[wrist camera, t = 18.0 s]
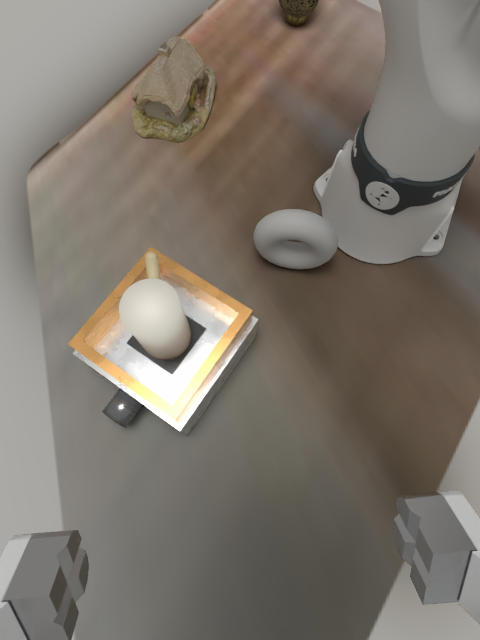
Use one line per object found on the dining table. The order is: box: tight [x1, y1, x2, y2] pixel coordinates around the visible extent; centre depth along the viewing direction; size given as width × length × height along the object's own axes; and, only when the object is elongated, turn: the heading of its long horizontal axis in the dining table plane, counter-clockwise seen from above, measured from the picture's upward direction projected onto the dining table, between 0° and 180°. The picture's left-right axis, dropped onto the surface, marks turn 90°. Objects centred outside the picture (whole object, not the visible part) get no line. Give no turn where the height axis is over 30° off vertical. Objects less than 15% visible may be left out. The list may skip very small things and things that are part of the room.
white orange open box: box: [68, 247, 258, 436], centre depth 44 cm, size 17×14×9 cm
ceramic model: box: [132, 36, 216, 142], centre depth 57 cm, size 14×11×10 cm
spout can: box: [119, 252, 191, 360], centre depth 39 cm, size 9×5×8 cm, turn 5°
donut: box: [253, 209, 338, 269], centre depth 48 cm, size 10×4×10 cm, turn 80°
